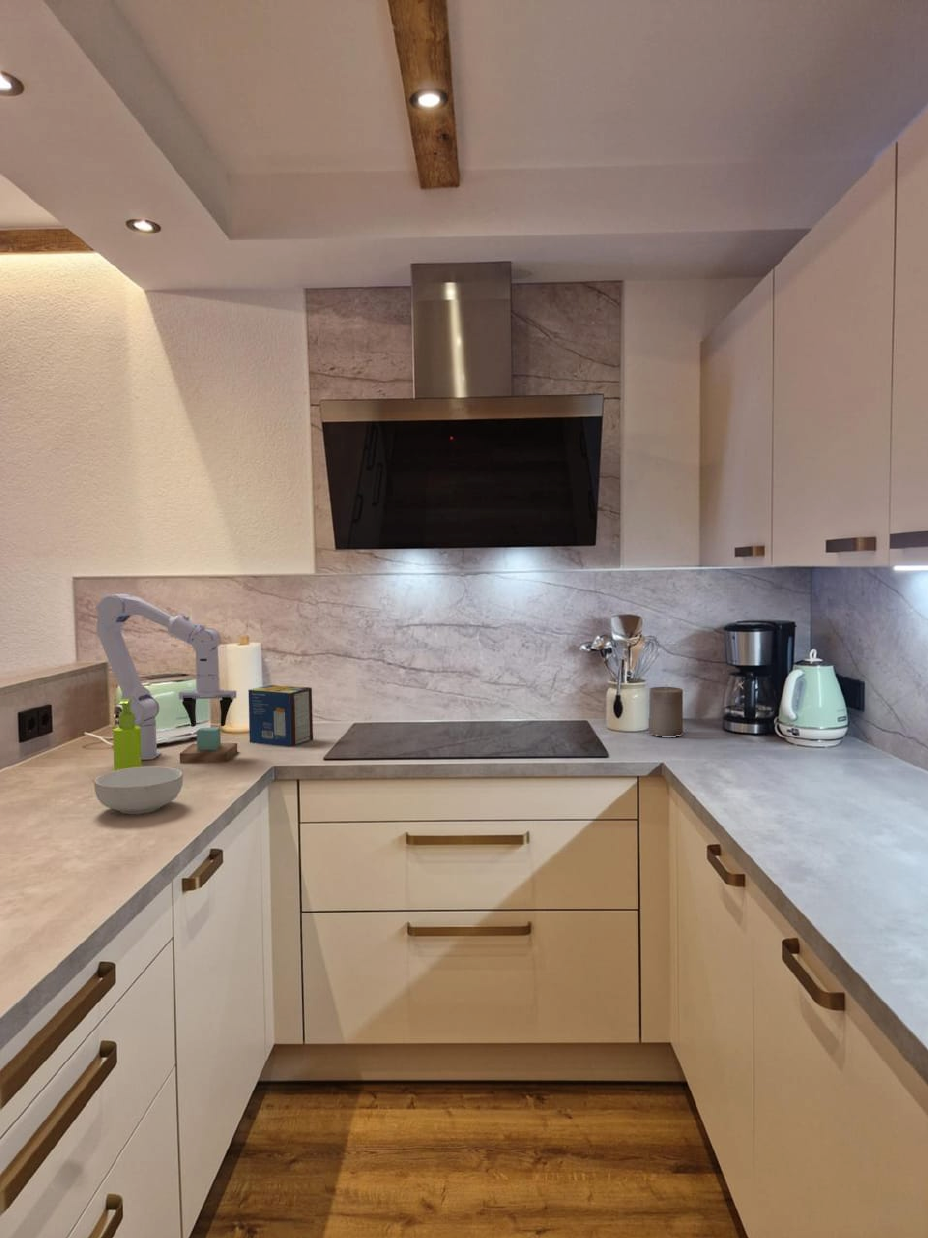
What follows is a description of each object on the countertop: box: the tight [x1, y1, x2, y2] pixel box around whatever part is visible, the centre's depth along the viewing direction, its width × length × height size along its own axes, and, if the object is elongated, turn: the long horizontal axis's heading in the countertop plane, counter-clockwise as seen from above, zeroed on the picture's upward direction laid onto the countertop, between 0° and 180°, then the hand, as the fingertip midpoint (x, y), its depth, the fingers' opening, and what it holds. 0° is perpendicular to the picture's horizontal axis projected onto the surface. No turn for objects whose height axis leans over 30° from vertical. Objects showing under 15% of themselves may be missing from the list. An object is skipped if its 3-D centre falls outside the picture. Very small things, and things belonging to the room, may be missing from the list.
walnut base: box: [179, 742, 238, 764], centre depth 213 cm, size 12×12×3 cm
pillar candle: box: [648, 684, 684, 736], centre depth 237 cm, size 10×10×15 cm
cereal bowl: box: [93, 765, 184, 815], centre depth 166 cm, size 17×17×7 cm
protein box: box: [247, 684, 314, 747], centre depth 233 cm, size 10×15×16 cm
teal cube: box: [196, 726, 222, 750], centre depth 213 cm, size 5×5×5 cm
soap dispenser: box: [112, 698, 143, 771], centre depth 185 cm, size 6×7×20 cm
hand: (208, 725), depth 213 cm, fingers open, 7 cm apart
